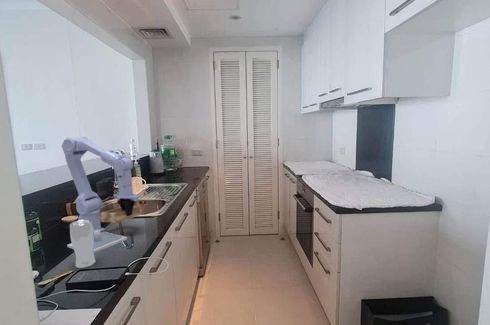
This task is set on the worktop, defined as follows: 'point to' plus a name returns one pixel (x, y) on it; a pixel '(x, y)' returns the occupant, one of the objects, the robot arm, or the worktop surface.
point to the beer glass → (83, 242)
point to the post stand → (104, 240)
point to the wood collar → (118, 215)
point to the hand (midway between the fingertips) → (127, 215)
